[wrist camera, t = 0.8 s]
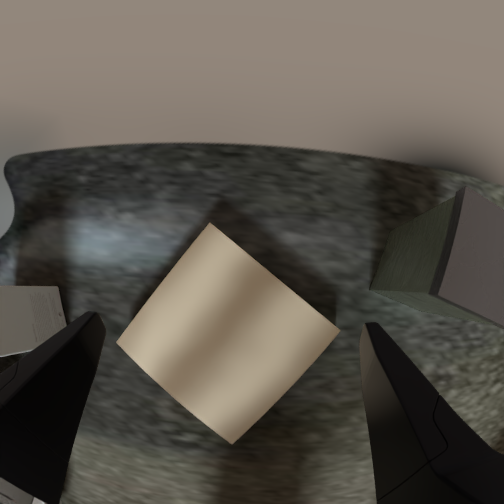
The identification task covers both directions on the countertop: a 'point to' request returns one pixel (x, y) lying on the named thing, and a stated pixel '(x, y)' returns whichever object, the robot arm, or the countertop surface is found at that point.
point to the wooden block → (225, 335)
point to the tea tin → (448, 261)
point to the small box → (28, 317)
